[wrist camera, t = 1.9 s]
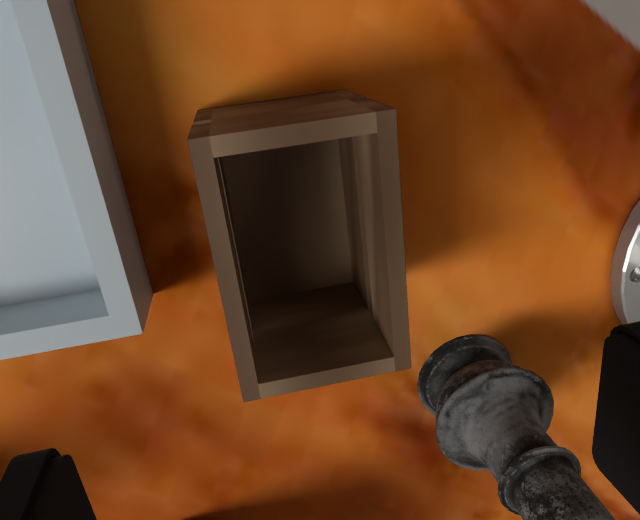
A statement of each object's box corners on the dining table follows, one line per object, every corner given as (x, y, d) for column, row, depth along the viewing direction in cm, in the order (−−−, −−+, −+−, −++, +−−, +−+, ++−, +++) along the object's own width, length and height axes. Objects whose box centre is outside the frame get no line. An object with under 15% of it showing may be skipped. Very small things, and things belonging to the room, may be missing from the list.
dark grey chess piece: (471, 308, 27) (644, 492, 16) (536, 369, 29) (727, 567, 18) (389, 387, 28) (498, 611, 17) (458, 440, 30) (594, 668, 19)
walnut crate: (344, 89, 22) (396, 108, 15) (363, 285, 25) (411, 368, 19) (197, 110, 21) (187, 139, 15) (237, 309, 25) (243, 402, 18)
